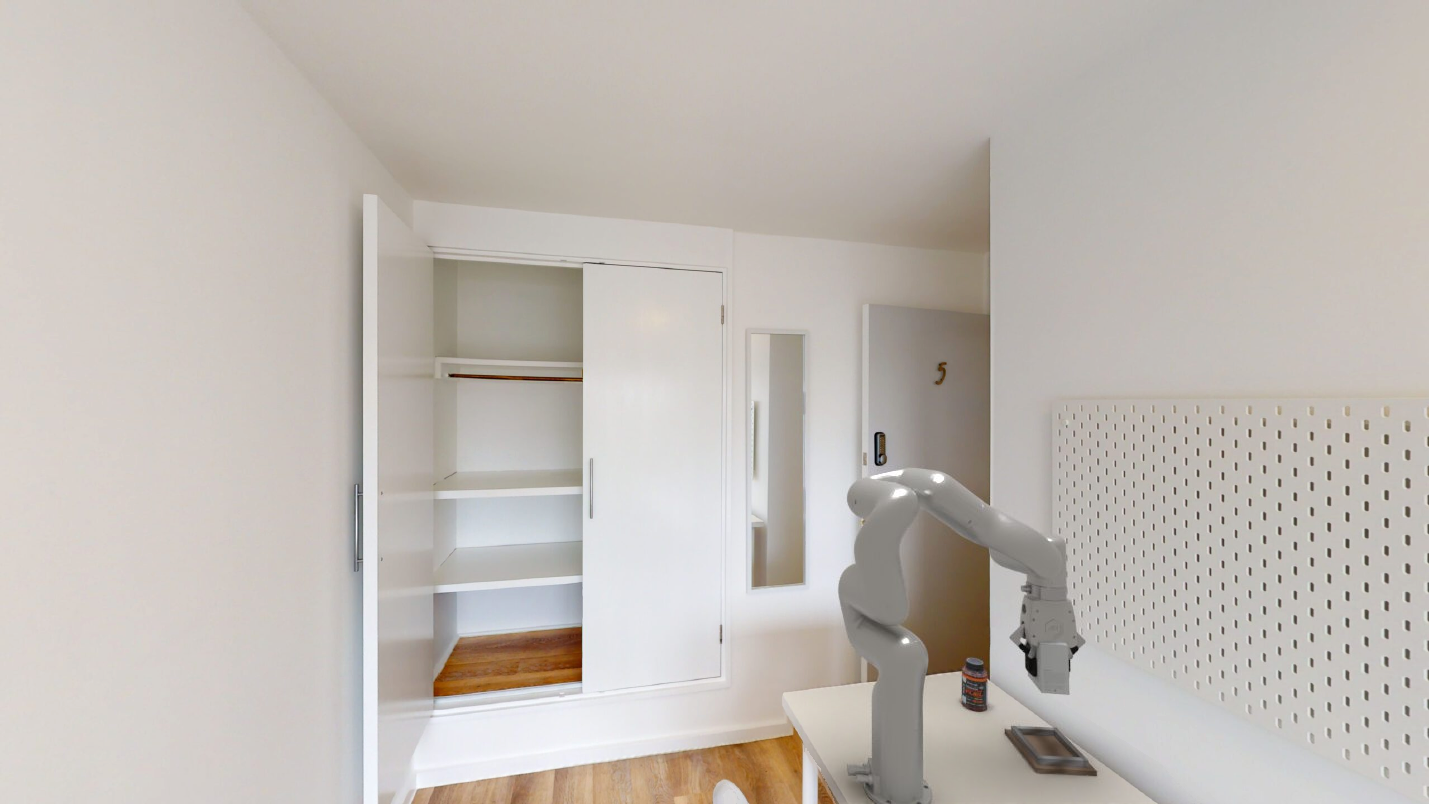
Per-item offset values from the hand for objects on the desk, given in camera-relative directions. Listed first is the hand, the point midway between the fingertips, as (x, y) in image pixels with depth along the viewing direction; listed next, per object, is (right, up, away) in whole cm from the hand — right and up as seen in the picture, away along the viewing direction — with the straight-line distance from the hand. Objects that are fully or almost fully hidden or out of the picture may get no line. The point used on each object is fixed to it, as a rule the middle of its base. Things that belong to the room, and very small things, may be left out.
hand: (1047, 673), depth 120 cm
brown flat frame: (0, -17, -1) cm, 17 cm away
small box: (0, -3, 0) cm, 3 cm away
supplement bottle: (-7, -18, +19) cm, 27 cm away
